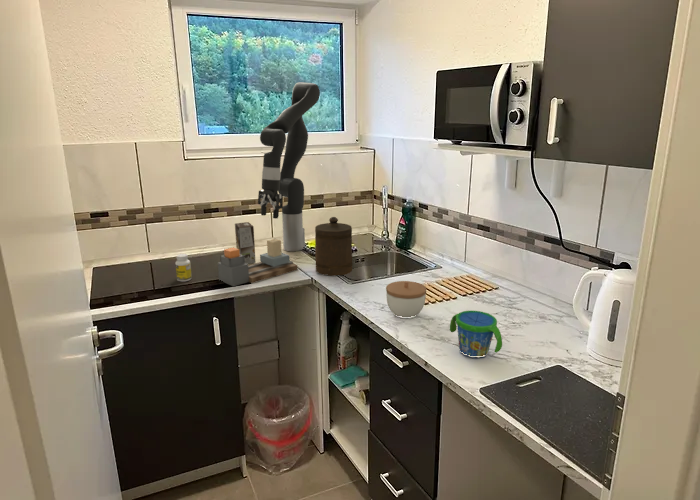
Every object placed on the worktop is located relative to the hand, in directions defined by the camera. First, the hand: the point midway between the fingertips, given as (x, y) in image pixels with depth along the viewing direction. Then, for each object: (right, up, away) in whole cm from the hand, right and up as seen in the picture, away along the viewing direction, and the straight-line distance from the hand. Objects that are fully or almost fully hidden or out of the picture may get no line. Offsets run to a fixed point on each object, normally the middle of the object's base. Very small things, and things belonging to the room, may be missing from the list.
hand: (269, 216), depth 205 cm
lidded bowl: (+52, -35, -50) cm, 80 cm away
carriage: (+3, -19, -7) cm, 21 cm away
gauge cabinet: (-10, -26, -20) cm, 34 cm away
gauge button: (-10, -17, -22) cm, 30 cm away
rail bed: (0, -23, -10) cm, 25 cm away
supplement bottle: (-30, -26, -18) cm, 43 cm away
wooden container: (+28, -22, -8) cm, 36 cm away
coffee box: (-11, -19, +4) cm, 22 cm away
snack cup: (+67, -42, -74) cm, 109 cm away
